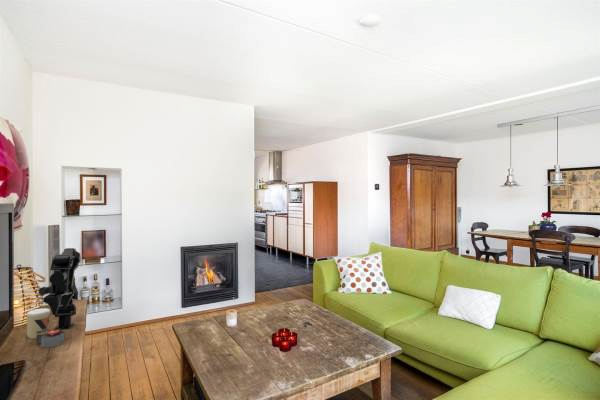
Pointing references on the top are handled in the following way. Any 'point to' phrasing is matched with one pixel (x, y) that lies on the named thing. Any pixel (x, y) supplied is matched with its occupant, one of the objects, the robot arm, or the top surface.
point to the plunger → (52, 331)
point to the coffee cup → (37, 322)
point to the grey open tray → (50, 339)
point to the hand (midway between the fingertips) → (59, 311)
